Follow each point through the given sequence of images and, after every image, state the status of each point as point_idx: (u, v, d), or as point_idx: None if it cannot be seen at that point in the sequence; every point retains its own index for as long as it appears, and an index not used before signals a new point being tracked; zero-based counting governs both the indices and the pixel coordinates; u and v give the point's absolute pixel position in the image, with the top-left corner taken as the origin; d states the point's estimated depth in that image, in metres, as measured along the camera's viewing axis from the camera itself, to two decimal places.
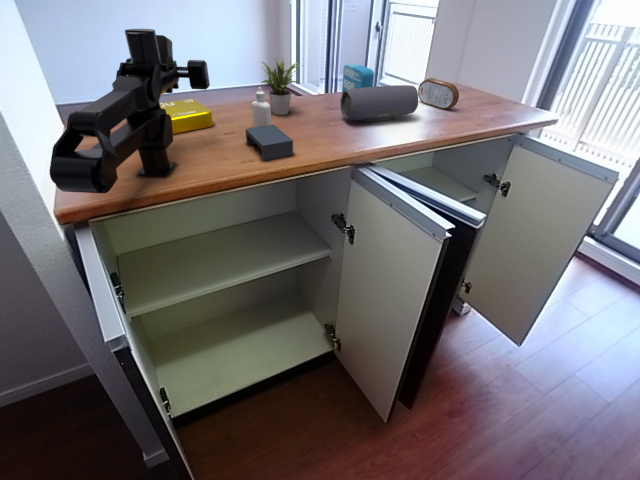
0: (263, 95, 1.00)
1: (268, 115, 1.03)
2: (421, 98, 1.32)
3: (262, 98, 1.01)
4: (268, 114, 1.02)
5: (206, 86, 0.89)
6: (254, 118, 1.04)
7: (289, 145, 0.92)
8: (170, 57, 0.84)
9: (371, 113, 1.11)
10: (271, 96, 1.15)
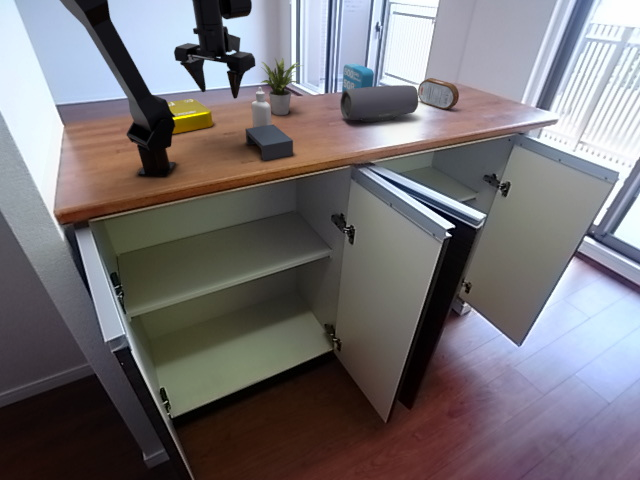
0: (263, 95, 1.00)
1: (268, 115, 1.03)
2: (421, 98, 1.32)
3: (262, 99, 1.01)
4: (268, 114, 1.02)
5: (242, 61, 0.81)
6: (254, 118, 1.04)
7: (289, 145, 0.92)
8: (232, 40, 0.86)
9: (371, 113, 1.11)
10: (271, 96, 1.15)
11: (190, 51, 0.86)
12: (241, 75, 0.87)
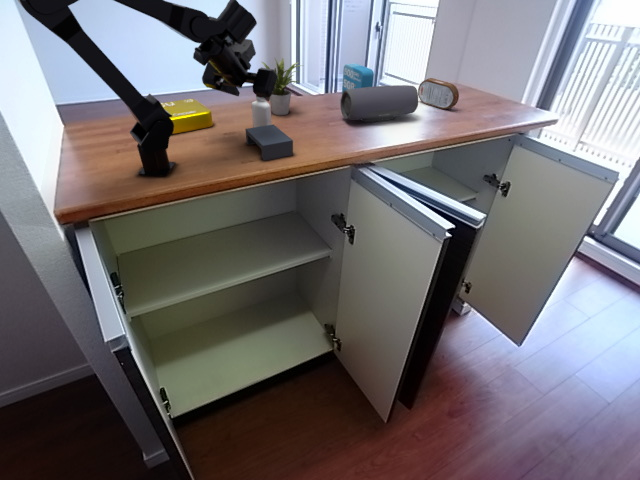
0: None
1: (268, 115, 1.03)
2: (421, 98, 1.32)
3: (262, 99, 1.01)
4: (268, 114, 1.02)
5: (267, 90, 0.86)
6: (254, 118, 1.04)
7: (289, 145, 0.92)
8: (247, 55, 0.87)
9: (371, 113, 1.11)
10: (271, 96, 1.15)
11: (216, 78, 0.91)
12: None
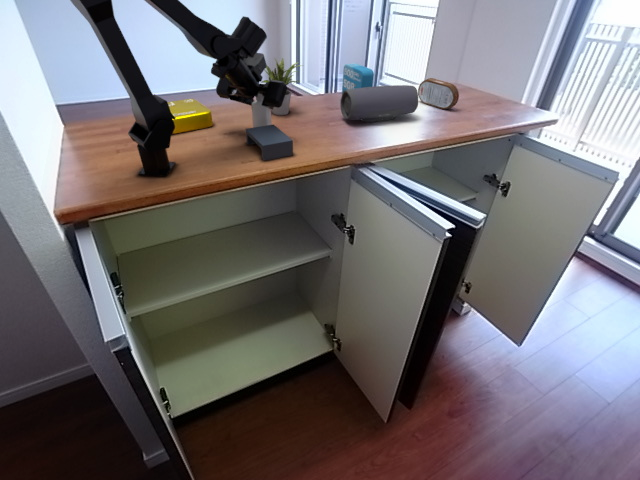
0: None
1: (268, 115, 1.03)
2: (421, 98, 1.32)
3: (262, 98, 1.01)
4: (268, 114, 1.02)
5: (278, 100, 0.92)
6: (254, 118, 1.04)
7: (289, 145, 0.92)
8: (259, 68, 0.93)
9: (371, 113, 1.11)
10: None
11: (229, 89, 0.97)
12: None
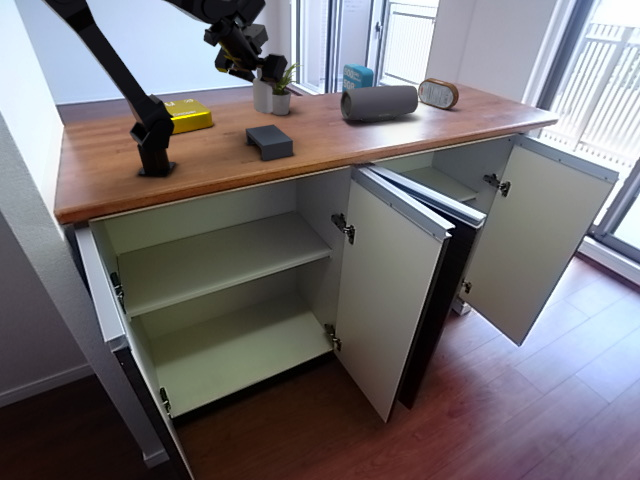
0: None
1: (269, 93, 0.96)
2: (421, 98, 1.32)
3: None
4: (269, 92, 0.96)
5: (275, 75, 0.85)
6: (254, 96, 0.98)
7: (289, 145, 0.92)
8: (259, 40, 0.86)
9: (371, 113, 1.11)
10: None
11: (227, 62, 0.91)
12: None
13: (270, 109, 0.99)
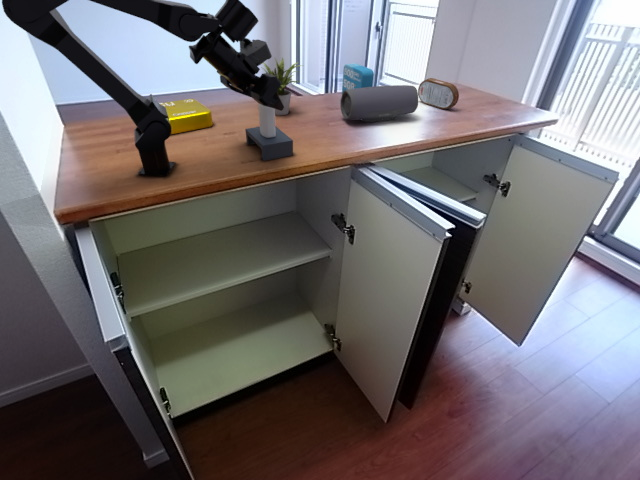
0: None
1: (270, 118, 0.89)
2: (421, 98, 1.32)
3: None
4: (270, 116, 0.89)
5: (261, 97, 0.78)
6: (259, 119, 0.93)
7: (289, 145, 0.92)
8: (255, 58, 0.80)
9: (371, 113, 1.11)
10: None
11: None
12: (275, 93, 0.83)
13: (272, 134, 0.92)
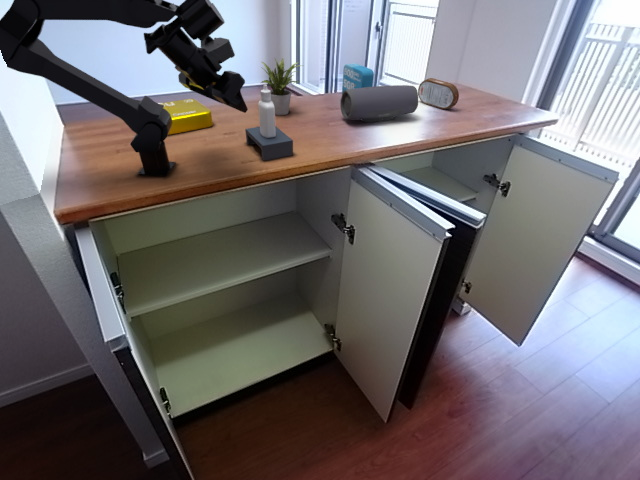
0: (267, 94, 0.88)
1: (270, 118, 0.89)
2: (421, 98, 1.32)
3: (266, 98, 0.88)
4: (270, 116, 0.89)
5: (223, 94, 0.73)
6: (259, 119, 0.93)
7: (289, 145, 0.92)
8: (217, 55, 0.75)
9: (371, 113, 1.11)
10: (271, 96, 1.15)
11: None
12: (238, 93, 0.78)
13: (272, 134, 0.92)
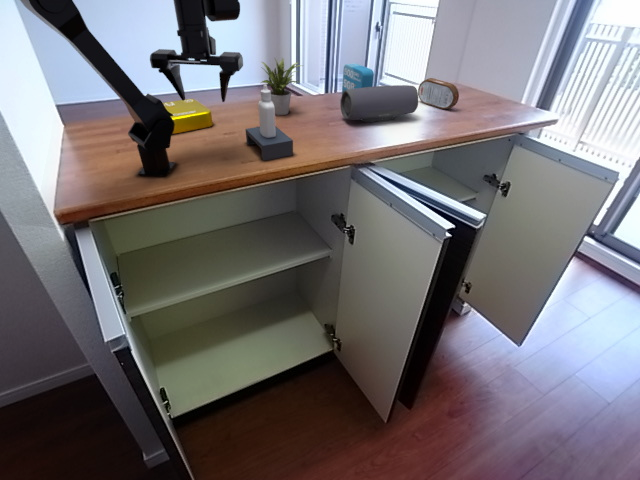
0: (267, 94, 0.88)
1: (270, 118, 0.89)
2: (421, 98, 1.32)
3: (266, 98, 0.88)
4: (270, 116, 0.89)
5: (237, 60, 0.78)
6: (259, 119, 0.93)
7: (289, 145, 0.92)
8: (212, 42, 0.82)
9: (371, 113, 1.11)
10: (271, 96, 1.15)
11: (169, 56, 0.79)
12: (229, 76, 0.83)
13: (272, 134, 0.92)
